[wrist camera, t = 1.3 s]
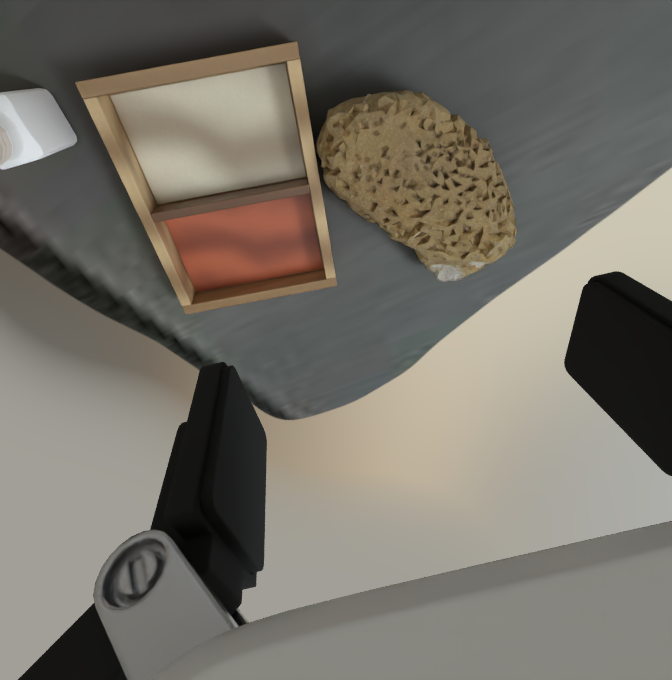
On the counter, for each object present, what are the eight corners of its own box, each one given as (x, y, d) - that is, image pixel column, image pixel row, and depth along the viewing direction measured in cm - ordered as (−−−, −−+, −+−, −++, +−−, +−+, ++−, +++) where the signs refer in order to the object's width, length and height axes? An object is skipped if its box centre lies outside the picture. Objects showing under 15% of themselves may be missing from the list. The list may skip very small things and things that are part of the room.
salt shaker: (1, 100, 29) (-98, 114, 21) (50, 85, 28) (-33, 94, 21) (38, 155, 31) (-39, 185, 23) (83, 142, 31) (20, 168, 23)
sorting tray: (91, 80, 28) (74, 82, 26) (295, 42, 29) (297, 40, 26) (191, 299, 41) (185, 314, 38) (333, 272, 41) (337, 285, 38)
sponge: (506, 206, 40) (440, 5, 26) (536, 253, 35) (474, 40, 21) (397, 264, 45) (294, 122, 31) (411, 312, 40) (297, 171, 27)
